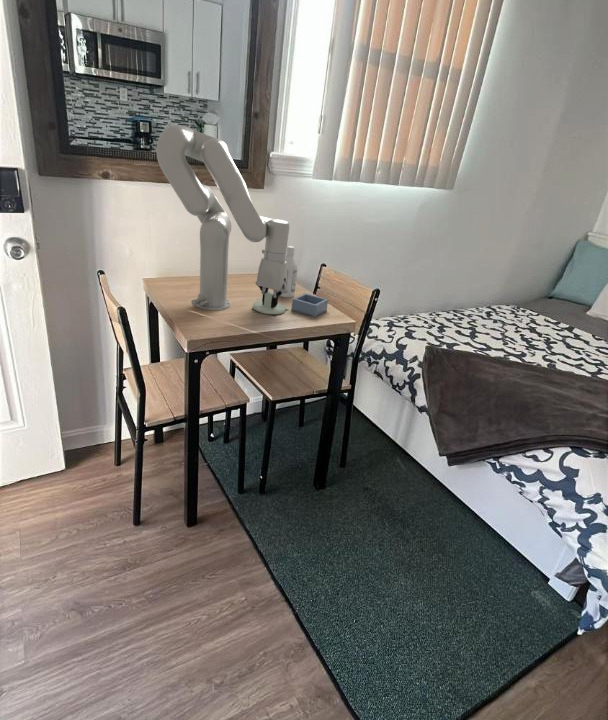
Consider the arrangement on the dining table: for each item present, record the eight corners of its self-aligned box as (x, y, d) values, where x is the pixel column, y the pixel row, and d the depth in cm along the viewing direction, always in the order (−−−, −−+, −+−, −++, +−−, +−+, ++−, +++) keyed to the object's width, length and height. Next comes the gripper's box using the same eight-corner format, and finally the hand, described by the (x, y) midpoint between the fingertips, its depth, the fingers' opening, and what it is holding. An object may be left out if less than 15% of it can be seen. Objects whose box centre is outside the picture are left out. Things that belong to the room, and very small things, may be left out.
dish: (314, 318, 165) (316, 305, 163) (291, 311, 169) (292, 298, 167) (326, 311, 173) (328, 299, 171) (303, 305, 177) (305, 293, 175)
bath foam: (292, 293, 189) (297, 245, 180) (296, 298, 183) (301, 249, 175) (275, 292, 187) (280, 244, 179) (279, 298, 181) (284, 248, 173)
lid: (274, 317, 159) (276, 301, 157) (246, 307, 164) (247, 292, 161) (291, 309, 169) (292, 294, 167) (264, 300, 174) (265, 286, 171)
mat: (275, 317, 161) (275, 316, 161) (251, 310, 165) (251, 309, 164) (288, 310, 169) (289, 309, 169) (266, 304, 173) (266, 302, 173)
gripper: (249, 252, 158) (245, 301, 166) (289, 263, 152) (283, 314, 160) (261, 249, 164) (256, 297, 172) (300, 260, 158) (293, 309, 166)
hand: (269, 305), depth 166 cm, fingers closed on lid, 3 cm apart
